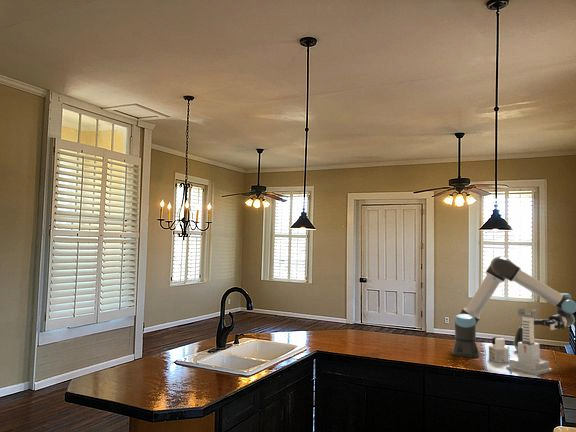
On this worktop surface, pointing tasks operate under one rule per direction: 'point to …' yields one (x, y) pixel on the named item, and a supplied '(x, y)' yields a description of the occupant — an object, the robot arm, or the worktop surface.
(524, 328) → the jack stand column
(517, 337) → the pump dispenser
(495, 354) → the container
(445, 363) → the worktop surface
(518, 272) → the robot arm
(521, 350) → the jack stand base
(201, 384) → the worktop surface
